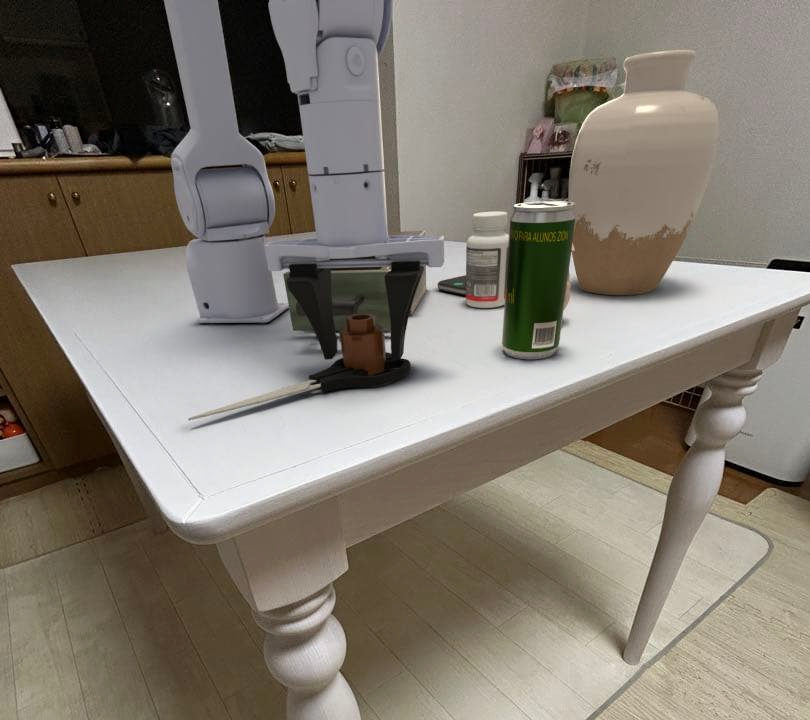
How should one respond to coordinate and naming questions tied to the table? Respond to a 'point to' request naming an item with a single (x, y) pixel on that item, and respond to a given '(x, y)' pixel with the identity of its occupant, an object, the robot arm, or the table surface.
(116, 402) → the table surface
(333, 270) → the drawer
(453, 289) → the smartphone
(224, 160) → the robot arm
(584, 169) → the vase
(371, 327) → the spice bottle
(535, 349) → the beer can
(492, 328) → the table surface
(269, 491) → the table surface
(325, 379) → the scissors
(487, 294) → the pill bottle
